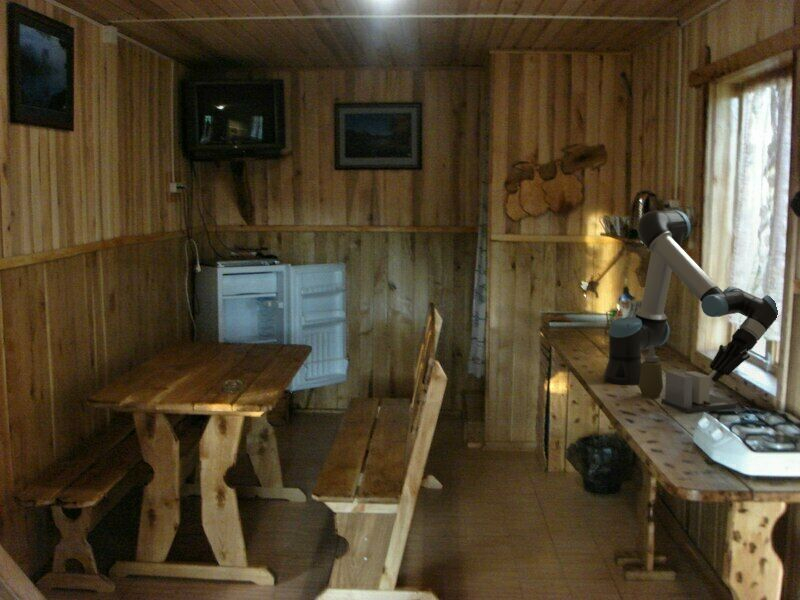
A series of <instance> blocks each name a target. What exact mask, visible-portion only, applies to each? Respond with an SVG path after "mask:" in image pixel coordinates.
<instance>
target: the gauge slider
mask: <svg viewBox="0 0 800 600" xmlns="http://www.w3.org/2000/svg"><path fill="white" fill-rule="evenodd" d="M683 374H686V375H689V376H692V377H693V380H692V402H695V403H697V404H704V403H705V404H707V405H710V403H709V397H710V391H711V388H710V376H708V375H707V374H704V373H702V372H701V373H700V372H699V371H696V370H695V371H684V373H683Z"/></svg>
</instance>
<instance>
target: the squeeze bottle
mask: <svg viewBox="0 0 800 600" xmlns="http://www.w3.org/2000/svg"><path fill="white" fill-rule="evenodd" d="M659 359H660V358H659V356H658V355H656V352H655V348H654V346H650V348H649V349H648V353H647V354H646V355H645V356H644V361H642V362H641V363H642V365H641V373H640V381H639V384H638V388H639V391H640V394H641V397H643V398H647V399H657V398H660V396H661V393H662V390H663V388H664V384H663V371H662V369H663V368H662V363H661V362H660V361H659Z"/></svg>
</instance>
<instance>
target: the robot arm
mask: <svg viewBox="0 0 800 600" xmlns="http://www.w3.org/2000/svg"><path fill="white" fill-rule="evenodd" d="M636 227H637V228H636V229H637V234H638V237H639V239H640V240H641V242H642V244H643V245H644V246H645V247H646V248H647V249H648V250H649V252H650V253H651V254H650V257H649V262H648V268H647V274H646V278H645V284H644V289H643V294H642V299H641V304H640V305H641V306H640V308H639V309H637V310H636V311H635V315H634V317H633V316H625V317H619V318H615V319H613V320H611V322H610V324H609V330H608V335H609V337H608V339H609V340H608V342H609V343H608V344H609V345H608V346H609V348H608V349H609V351H608V362H607V363H606V367H605V371H604V373H603V380H604V381H605V382H607V383H611V384H617V385H639V381H640V373H641V365H642V363H643V362H642V351H644V350H649V348H650V346H654V349H655V348H658V347H660V346H662V345H664V344H665V343H666V342H667V341H668V339H669V337H670V332H671V329H670V326H669V322H668V321H667V319H668V316H667V315H666V314H665V312H664V311H665V306H666V302H667V296H668V293H669V287H670V281H671V277H672V272H673V273H674V274H675V275H676V277H677V278H678V279H680V281H682V283H683V284H685V286H686V287H687V288H688V289H689V290H690V292H692V293H693V295H695V296H696V298H697V299H698V300H699V301H700V302H701V305H700V306H701V310H702V312H703V314H705V315H706V316H707V317H709V318H719V317H723V316H727V315H733V314H740V315H742V316H744V317H746V318H745V320H743V322H742V323H741V324H740V325H739V328H737V329H736V330H735V332H734V333H732V336H731V340H730V342H728V343H727V345H723V344H720V345H719V347H718V350H717V352H716V354H715V355H714V358H713V359H712V361H711V363H710V365H709V368H710V369H711V370H710V372H709V373H708V376H710V389H711V388H712V387H713V386H714V385H715V383H717V382H718V381H719V380H720V378H721V377H723V376H724V375H725V376H730V374H731V373H732V372H733V371H734V370H736V369H737V368H738V367H739V366H740V365H741V364H742V363H744V361H747V360H748V359H750V357H751V355H750V354H749V353H748V352H749V351H750V350H752V349H754V347H755V346H756V344H758V341H760V340H761V338H762V337H763V336H764V335H765V334H766V332H767V331H768V329H769V328H770V327H771V326H772V325H773V324H774V322H776V320H777V319H778V318H777V315H778V310H777V307H776V303H775V301H774V300H773V299H772V298H771V297H770V296H768V295H769V294H766V295H765V296H764V297H762V298H760V297H757V296H755V295H753V294H751V293H749V292H747V291H745V290H743V289H741V288H739V287H735V286H732V285H730V286H728V287H727V288H725V289H724V290H722V289H721V288H720V287H719V286H718V285H717V284H716V283H715V282H714V280H712V278H710V277H709V276H708V274H707V273H706V272H704V270H703V269H702V268H701V267H700V266H699V264H697V263H696V262H695V261H694V260H693V258H692V257H691V256H690V255H689V254H688V253H687V252H685V250H684V249H683V248H682V244H683V240H685V239H686V238H688V236H689V235H690V232H691V227H692V225H691V222H690V219H689V218H688V216H687V214H685V213H684V212H682V211H681V210H677V209H663V210H650V211H648V212H645V213H644V214H643V215H642V216H641V217H640V218H639V220H638V223H637V226H636ZM776 318H777V319H776Z"/></svg>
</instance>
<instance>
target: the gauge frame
mask: <svg viewBox="0 0 800 600" xmlns="http://www.w3.org/2000/svg"><path fill="white" fill-rule="evenodd" d="M692 380H693V377H692V376H689V375H686V374H684V373H682V372H680V371H676V370H665V387H664V388H665V389H664V398H661V401H660V402H661V403H660V404H661V405H662V404H663V405H664V406H667V407H671V408H672V409H675V410H677V411H680V412H681V413H683V414H684V413H685V414H687V415H689V414H696V413H704V412H713V411H723V410H730V409H737V403H736V402H732V401H730V400H727V399H725V398H722V397H719V396H716V395H713V394H710V397H709V403H710V405H707V404H705V403H704V404H697V403H695V402H692Z"/></svg>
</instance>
